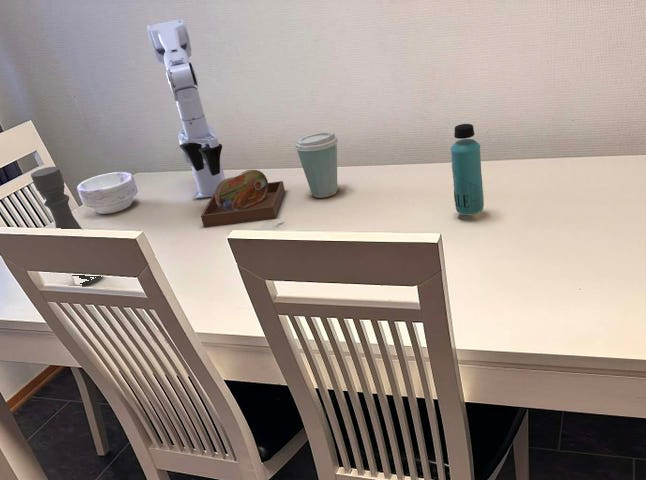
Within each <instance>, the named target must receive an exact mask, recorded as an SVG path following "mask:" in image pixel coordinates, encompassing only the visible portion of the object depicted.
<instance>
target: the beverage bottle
mask: <svg viewBox="0 0 646 480" xmlns="http://www.w3.org/2000/svg"><path fill="white" fill-rule="evenodd" d="M453 135H454V138H455V139H458V140H457V141H455V142H454V143H453V144H452V145H451V147H450V154H451V170H452V180H453V185H452V186H453V199H454V202H453V203H454V208H455V211H456V212H457V213H458V214H460V215H474V214H479V213H480V212H482V211H483V210H484V206H485V201H484V198H485V197H484V196H485V194H484V186H483V183H484V182H483V174H482V160H481V159H482V158H481V157H482V156H481V144H480V143H479V142H478V141H476V140H475V139H473V138H472V137H474V136H475V129H474V125H473V124H472V123H461V124H457V125H456V126H455V127H454V133H453Z"/></svg>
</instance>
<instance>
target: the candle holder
mask: <svg viewBox="0 0 646 480" xmlns="http://www.w3.org/2000/svg"><path fill="white" fill-rule="evenodd" d="M30 177H31V180H32V183H33V185H34V187H35V190H36V191H37V192H38V193H39V195H41V196H42V197H43V198H44V201H43V205H44V206H45V207H46V208H48V209H49V212H50V214H51V215H52V216H51V217H52V218H53V221H54V225H55V229H56V228H61V229H82V230H83V228H82V227H81V225H80V224H79V221H77V220H76V218H75V217H74V215H73V212H72V209H71V207H70V204H69V201H70V196H69V195H68V194H65V187H66V186H65V179H64V177H63V174H62V172H61V169H60V167H59V166H47V167H43V168H39V169H37V170H35V171H33V172H31V174H30ZM72 276H79V278H81V279H87V280H89V281H85V282H83V283H80V284H82V286H81V287H86V286H91V285H93V284H96V283H97V282H100V281H101V280H102V278H103V276H102V277H101V276H85V275H72ZM72 276H71V277H72ZM90 277H94V279H92V278H90ZM95 277H96V278H95ZM91 279H92V280H91Z"/></svg>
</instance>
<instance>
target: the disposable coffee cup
mask: <svg viewBox="0 0 646 480" xmlns="http://www.w3.org/2000/svg"><path fill="white" fill-rule="evenodd" d="M338 142H339V140H338V137H337V136H336V135H335V132H334V131H330V130H329V131H328V130H327V131H320V132H315V133H311V134H308V135H304V136H303V137H300V138H299V139H298V140H297V141H296V143H295V149H296V151H297V154H298V157H299V161H300V164H301V166H302V169H303V172H304V175H305V178H306V181H307V184H308V187H309V190H310V193H311V194H312V196H313V197H314V198H319V199H321V198H328V197H332V196H334V195H336V194H337V192H338Z"/></svg>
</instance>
